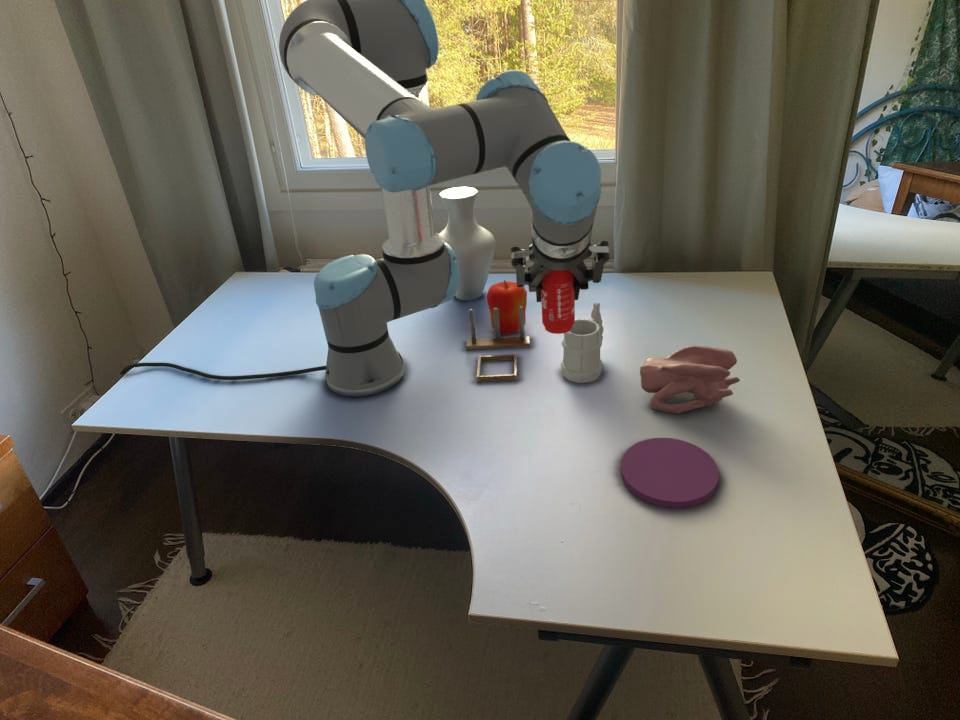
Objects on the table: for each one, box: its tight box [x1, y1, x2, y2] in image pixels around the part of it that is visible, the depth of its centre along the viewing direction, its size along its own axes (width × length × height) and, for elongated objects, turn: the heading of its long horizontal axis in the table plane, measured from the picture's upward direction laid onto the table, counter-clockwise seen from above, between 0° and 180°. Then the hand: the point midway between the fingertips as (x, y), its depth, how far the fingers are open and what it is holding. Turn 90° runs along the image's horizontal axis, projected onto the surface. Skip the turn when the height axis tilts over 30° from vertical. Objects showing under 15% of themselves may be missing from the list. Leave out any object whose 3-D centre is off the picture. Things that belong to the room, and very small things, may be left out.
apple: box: [485, 279, 528, 335], centre depth 131 cm, size 9×8×12 cm
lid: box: [619, 437, 720, 509], centre depth 93 cm, size 14×14×1 cm
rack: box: [466, 307, 531, 382], centre depth 122 cm, size 15×13×8 cm
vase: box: [438, 186, 496, 302], centre depth 144 cm, size 14×14×25 cm
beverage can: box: [540, 270, 576, 335], centre depth 98 cm, size 5×5×12 cm
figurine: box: [639, 345, 741, 415], centre depth 106 cm, size 12×10×15 cm
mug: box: [560, 302, 604, 384], centre depth 116 cm, size 8×12×12 cm, turn 146°
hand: (556, 293), depth 102 cm, fingers closed on beverage can, 5 cm apart
